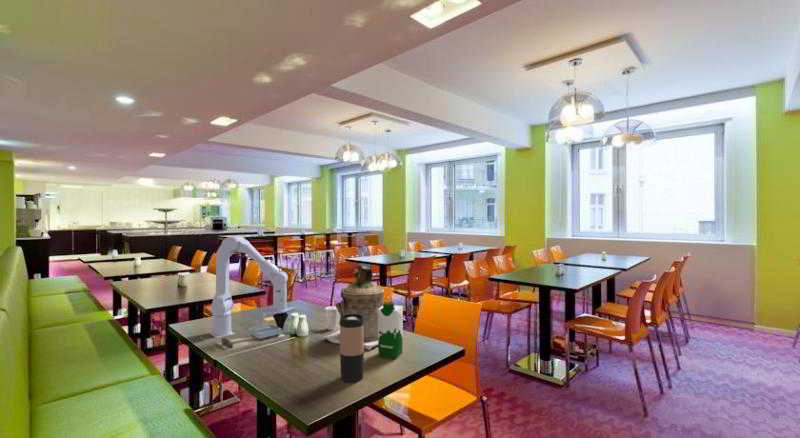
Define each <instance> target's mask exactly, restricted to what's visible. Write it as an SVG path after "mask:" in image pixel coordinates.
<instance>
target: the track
mask: <svg viewBox="0 0 800 438" xmlns="http://www.w3.org/2000/svg"><path fill="white" fill-rule="evenodd" d="M287 337H288V336H287V335H285V334H283V333H282V334H279V337H276V336H275V335H273V336H269V337H265V338H263V340H262V341H260V340H259V339H258V338H256V337H255V336H251V334H249V335H244V336H238V337H235V338H229V339H228V338H226V337H221V341H218V342H216V344H217V345H218V346H220V347H221V348H223V349H224V350H225V351H227V352H230V351H233V350H238V349H243V348H247V347H250V346H255V345H259V344H262V343H266V342H267V343H268V342H271V341H276V340H279V339H280V340H281V339H283V338H287Z"/></svg>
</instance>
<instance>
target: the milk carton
mask: <svg viewBox="0 0 800 438" xmlns="http://www.w3.org/2000/svg"><path fill="white" fill-rule="evenodd" d="M377 310H378V345H377V346H378V348H377V349H378V357H380V358H385V357H386V359H392V358H394V360H397V359H396V358H398V357H400V355H401V354H403V344H404V343H403V341H404V340H403V338H404V337H403V335H404V333H403V332H404V331H403V330H404V328H403V326H404V325H403V320H404V318H403V314H404V305H403V306H402V305H395V303H394V302H392V301H385V302H383V306H381V307H380V308H379V309H377Z"/></svg>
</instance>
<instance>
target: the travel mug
mask: <svg viewBox="0 0 800 438" xmlns="http://www.w3.org/2000/svg"><path fill="white" fill-rule="evenodd" d="M340 316H341V315H340ZM339 322H340V325H339V326H340V327H339V330H340V344H339V357H340V360H339V361H340V380H341V381H342V382H344V383H349V384H350V383H352V384H353V383H354V384H355V383H358V382H361V381H362V380H363V378H364V361H365V360H364V355H365V350H364V333H363V316H362V315H359V314H347V315H343V316H341V317H339Z"/></svg>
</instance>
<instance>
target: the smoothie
mask: <svg viewBox="0 0 800 438" xmlns="http://www.w3.org/2000/svg"><path fill="white" fill-rule="evenodd" d="M324 311H325V315H326V323H327V330H330V331H335V330H337V325H338V316H339V312H338V310H337V308H336V305H335V298H332V305H331V306H326V307H325V309H324Z"/></svg>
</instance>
